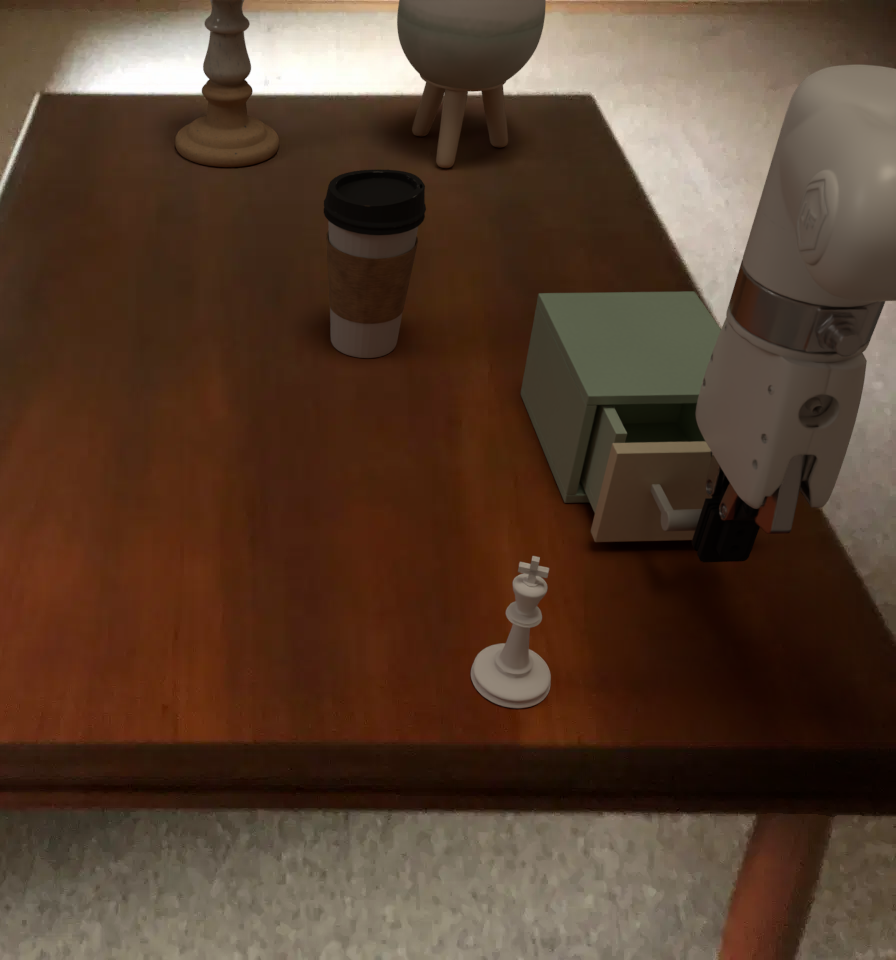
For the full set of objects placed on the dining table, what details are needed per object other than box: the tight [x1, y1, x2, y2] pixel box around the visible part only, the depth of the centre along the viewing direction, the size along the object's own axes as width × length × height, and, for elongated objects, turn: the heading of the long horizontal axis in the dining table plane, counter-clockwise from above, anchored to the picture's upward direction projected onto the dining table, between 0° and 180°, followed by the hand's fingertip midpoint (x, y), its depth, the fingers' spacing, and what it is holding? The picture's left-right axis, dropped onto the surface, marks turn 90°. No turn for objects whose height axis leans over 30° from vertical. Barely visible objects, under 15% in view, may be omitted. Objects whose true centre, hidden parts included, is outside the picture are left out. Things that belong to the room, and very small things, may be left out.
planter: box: [396, 0, 547, 169], centre depth 133 cm, size 16×16×22 cm
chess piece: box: [470, 555, 552, 709], centre depth 71 cm, size 5×5×10 cm
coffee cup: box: [323, 169, 427, 359], centre depth 101 cm, size 8×8×15 cm
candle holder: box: [174, 0, 280, 168], centre depth 134 cm, size 12×12×20 cm
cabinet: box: [520, 291, 722, 504], centre depth 91 cm, size 15×13×10 cm
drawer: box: [580, 403, 712, 543], centre depth 84 cm, size 18×11×8 cm, turn 3°
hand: (718, 553), depth 76 cm, fingers closed
